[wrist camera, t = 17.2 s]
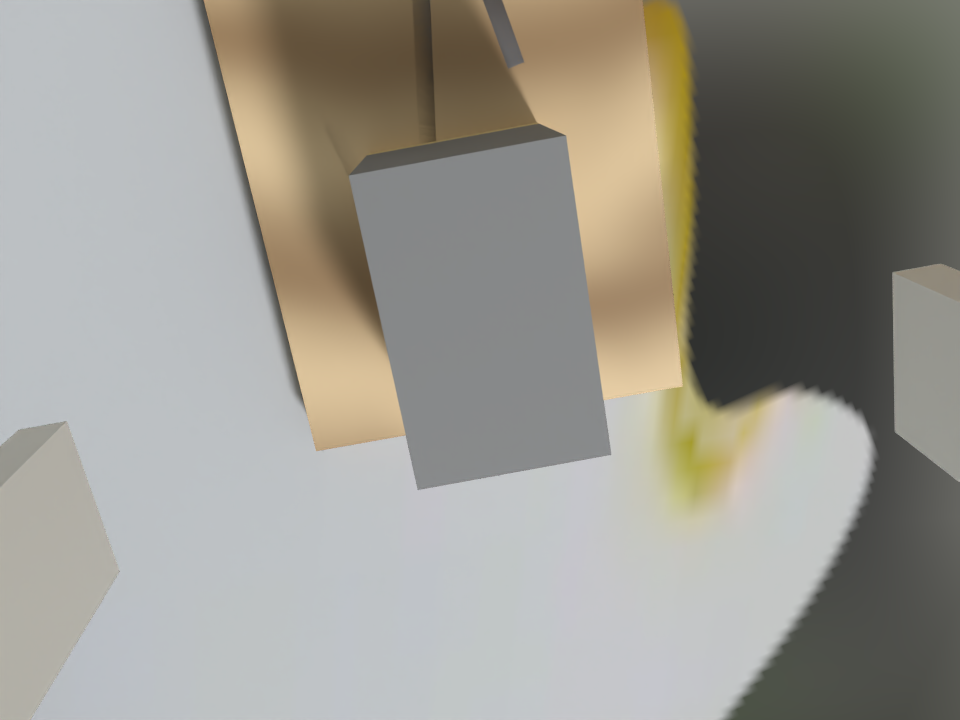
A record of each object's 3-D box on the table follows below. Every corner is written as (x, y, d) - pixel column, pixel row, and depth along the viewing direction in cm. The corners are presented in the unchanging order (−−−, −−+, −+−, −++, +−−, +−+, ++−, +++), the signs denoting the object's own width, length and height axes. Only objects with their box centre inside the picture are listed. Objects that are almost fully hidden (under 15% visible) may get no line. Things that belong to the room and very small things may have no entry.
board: (110, -425, 22) (88, -460, 21) (575, -511, 22) (584, -551, 21) (321, 433, 30) (316, 451, 28) (670, 371, 30) (682, 386, 28)
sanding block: (367, 153, 26) (348, 175, 20) (537, 122, 26) (566, 135, 20) (421, 406, 28) (417, 490, 22) (575, 377, 28) (611, 454, 22)
